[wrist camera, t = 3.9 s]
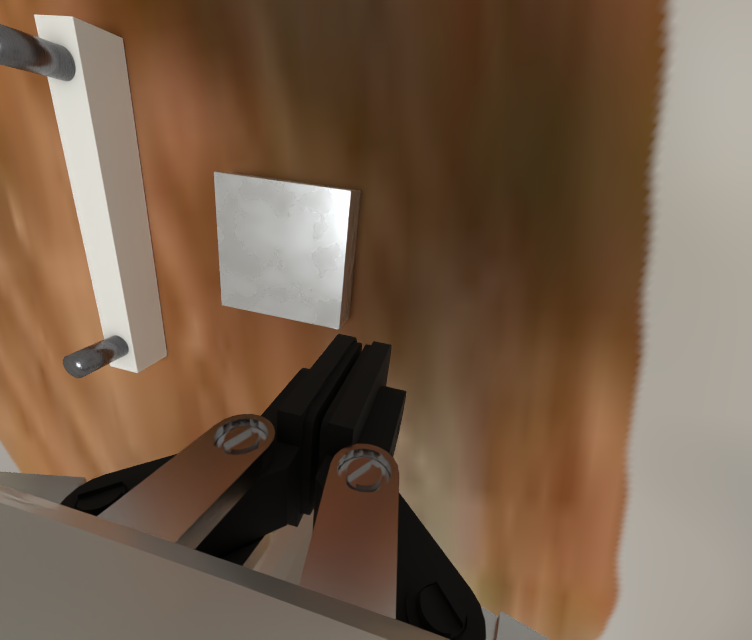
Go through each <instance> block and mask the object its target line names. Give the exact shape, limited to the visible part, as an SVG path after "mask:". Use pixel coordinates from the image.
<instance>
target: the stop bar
mask: <svg viewBox="0 0 752 640" xmlns="http://www.w3.org/2000/svg"><path fill="white" fill-rule="evenodd" d="M34 17H35V21H36V26H37V31H38V35H39V37H36V36H33V35H30V34H27V33H24V32H22V31H19V30H16V29H13V28H10V27H7V26H4V25H1V24H0V64H1V65H5V66H8V67H12V68H16V69H20V70H24V71H28V72H32V73H36V74H39V75H43V76H47V77H48V81H49V86H50V91H51V95H52V100H53V104H54V109H55V114H56V118H57V123H58V127H59V132H60V137H61V141H62V146H63V150H64V155H65V160H66V164H67V169H68V173H69V178H70V183H71V187H72V192H73V197H74V201H75V206H76V210H77V215H78V220H79V224H80V229H81V233H82V238H83V243H84V247H85V252H86V256H87V261H88V266H89V270H90V275H91V279H92V284H93V289H94V293H95V298H96V302H97V307H98V312H99V316H100V321H101V326H102V330H103V335H104V340H102V341H100V342H97V343H95V344H93V345H91V346H88V347H86V348H84V349H81V350H79V351H77V352H75V353H72V354H70V355H68V356H65V357H64V359H63V365H64V367H65V369H66V371H67V372H68V373H69V374H70V375H72V376H73V377H75V378H82V377H84V376H86V375H88V374H90V373H92V372H94V371H96V370H98V369H100V368H101V367H103V366H105V365H107V364H109V363H110V366H112V367H116V368H120V369H124V370H128V371H132V372H136V373H139V372H140V371H142V370H144V369H146V368H147V367H149V366H151V365H152V364H154V363H156V362H157V361H159V360H161V359H163V358H164V357H166V356H167V350H166V343H165V336H164V329H163V321H162V314H161V307H160V300H159V293H158V286H157V279H156V272H155V264H154V257H153V250H152V243H151V236H150V229H149V222H148V215H147V207H146V200H145V193H144V186H143V179H142V172H141V165H140V158H139V151H138V143H137V136H136V129H135V122H134V115H133V108H132V101H131V94H130V86H129V79H128V72H127V65H126V58H125V51H124V44H123V38H121V37H119V36H117V35H114V34H112V33H110V32H107V31H105V30H103V29H100V28H98V27H96V26H93V25H91V24H89V23H86V22H84V21H82V20H79V19H77V18H75V17H69V16H51V15H34Z"/></svg>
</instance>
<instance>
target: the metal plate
mask: <svg viewBox="0 0 752 640" xmlns="http://www.w3.org/2000/svg"><path fill="white" fill-rule="evenodd" d="M214 182H215V198H216V215H217V232H218V248H219V265H220V282H221V299H222V305H224V306H229V307H234V308H239V309H243V310H248V311H253V312H258V313H263V314H267V315H272V316H277V317H282V318H287V319H291V320H296V321H301V322H306V323H311V324H315V325H320V326H325V327H330V328H335V329H340V328H341V326H342V325H343V324H344V323H345V322H346V320H347V319H348V318H349V311H350V301H351V290H352V280H353V269H354V259H355V248H356V238H357V227H358V216H359V206H360V195H361V190H355V189H348V188H341V187H334V186H326V185H319V184H312V183H305V182H298V181H290V180H283V179H276V178H269V177H261V176H254V175H247V174H240V173H227V172H214Z"/></svg>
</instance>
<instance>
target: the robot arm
mask: <svg viewBox="0 0 752 640" xmlns="http://www.w3.org/2000/svg"><path fill="white" fill-rule="evenodd" d="M361 351H362V352H361ZM390 355H391V345H389V344H384V343H380V342H375V341H374V342H373V343H372V345H367V344H366V345H365V347H364V349H363V350H362V344H361V343H357V339H356V337H351V336H346V335H341V334H338V335H337V336H336V338H335V339H334V340H333V341H332V342H331V344H330V345H329V346H328V347H327V349H326V350H325V351H324V352H323V354H322V355H321V356H320V357H319V359H318V360H317V361H316V362H315V364H314V365H313V366H312V367H311V368H310V369H307V368H302V369H301V370H300V371H299V372H298V373H297V374H296V375H295V377H294V378H293V379H292V380H291V381H290V382H289V384H288V385H287V386H286V387H285V388H284V389H283V391H282V392H281V393H280V394H279V395H278V396H277V398H276V399H275V400H274V401H273V402H272V403H271V405H270V406H269V407H268V408H267V409H266V410H265V412H264V413H263V414H262V415H261V416H258V415H254V414H242V415H236V416H232V417H229V418H227V419H224V420H222V421H221V422H219V423H217V424H216V425H214V426H213V427H212V428H211V429H209V430H208V431H207V432H205V433H204V434H203V435H202V436H200V437H199V438H198V439H196V440H195V441H194V442H193V443H191V444H190V445H189V446H187V447H186V448H185V449H183V450H182V451H181V452H180V453H178V454H175V455H172V456H168V457H165V458H161V459H158V460H154V461H151V462H147V463H144V464H140V465H137V466H133V467H130V468H126V469H123V470H119V471H116V472H112V473H109V474H105V475H103V476H100V477H97V478H95V479H92V480H90V481H88V482H86V478H85V477H70V476H55V475H41V474H26V473H11V472H0V640H550V639H548V638H546V637H545V636H543V635H541V634H539V633H538V632H536V631H534V630H533V629H531V628H529V627H527V626H526V625H524V624H522V623H520V622H519V621H517V620H515V619H514V618H512V617H510V616H508V615H507V614H505V613H503V612H501V611H500V614H499V616H496V615H495V614H493V613H491V612H489V611H488V610H486V609H484V608H483V607H481V605H480V603H479V602H478V600H477V598H476V597H475V595H474V593H473V591H472V590H471V588H470V587H469V586H468V584H467V583H466V582H465V580H464V579H463V578H462V576H461V575H460V574H459V572H458V571H457V570H456V568H455V567H454V566H453V564H452V563H451V562H450V560H449V559H448V558H447V556H446V555H445V554H444V552H443V551H442V550H441V548H440V547H439V545H438V544H437V543H436V541H435V540H434V539H433V537H432V536H431V535H430V533H429V532H428V531H427V529H426V528H425V527H424V525H423V524H422V523H421V521H420V520H419V519H418V517H417V516H416V515H415V513H414V512H413V511H412V509H411V508H410V507H409V505H408V504H407V503H406V501H405V500H404V498H403V497H402V496H401V494H400V493H399V470H398V465H397V463H396V462H395V460H394V458H393V455H394V451H395V447H396V443H397V439H398V434H399V430H400V425H401V420H402V415H403V410H404V404H405V398H406V391H403V390H399V389H394V388H390V387H386V382H387V375H388V368H389V362H390Z"/></svg>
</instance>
